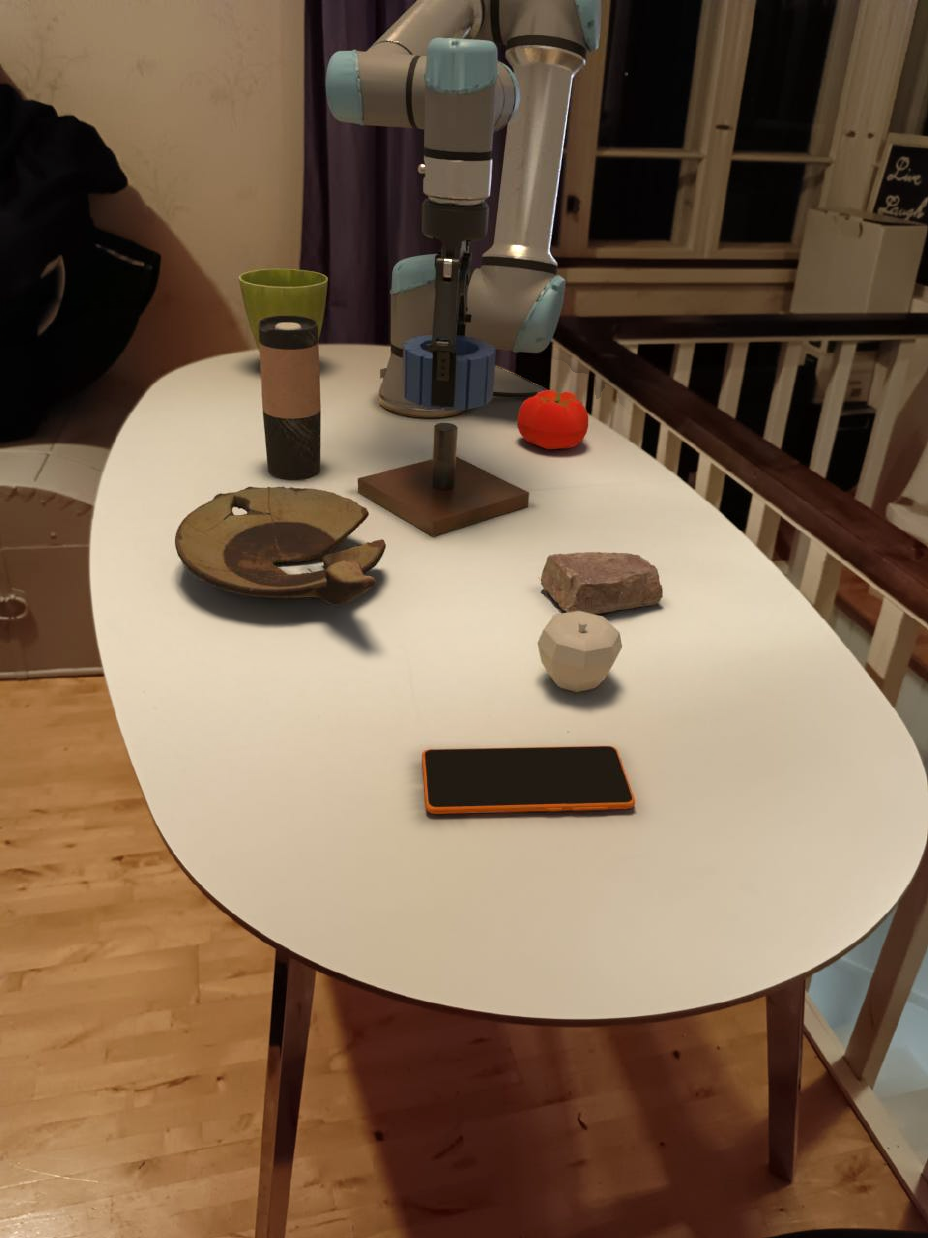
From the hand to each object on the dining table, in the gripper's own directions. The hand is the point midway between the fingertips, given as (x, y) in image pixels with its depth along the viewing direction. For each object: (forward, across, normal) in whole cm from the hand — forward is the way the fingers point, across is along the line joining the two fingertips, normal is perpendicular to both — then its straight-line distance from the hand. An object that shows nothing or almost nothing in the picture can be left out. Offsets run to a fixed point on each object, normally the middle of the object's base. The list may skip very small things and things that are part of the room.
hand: (447, 389), depth 118 cm
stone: (+15, +23, +20) cm, 34 cm away
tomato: (+15, -24, +14) cm, 31 cm away
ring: (+1, 0, 0) cm, 1 cm away
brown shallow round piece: (+15, +26, -15) cm, 33 cm away
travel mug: (+15, -5, -21) cm, 27 cm away
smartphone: (+14, +55, +13) cm, 59 cm away
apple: (+15, +40, +17) cm, 46 cm away
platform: (+15, 0, 0) cm, 15 cm away
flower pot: (+15, -50, -33) cm, 62 cm away
